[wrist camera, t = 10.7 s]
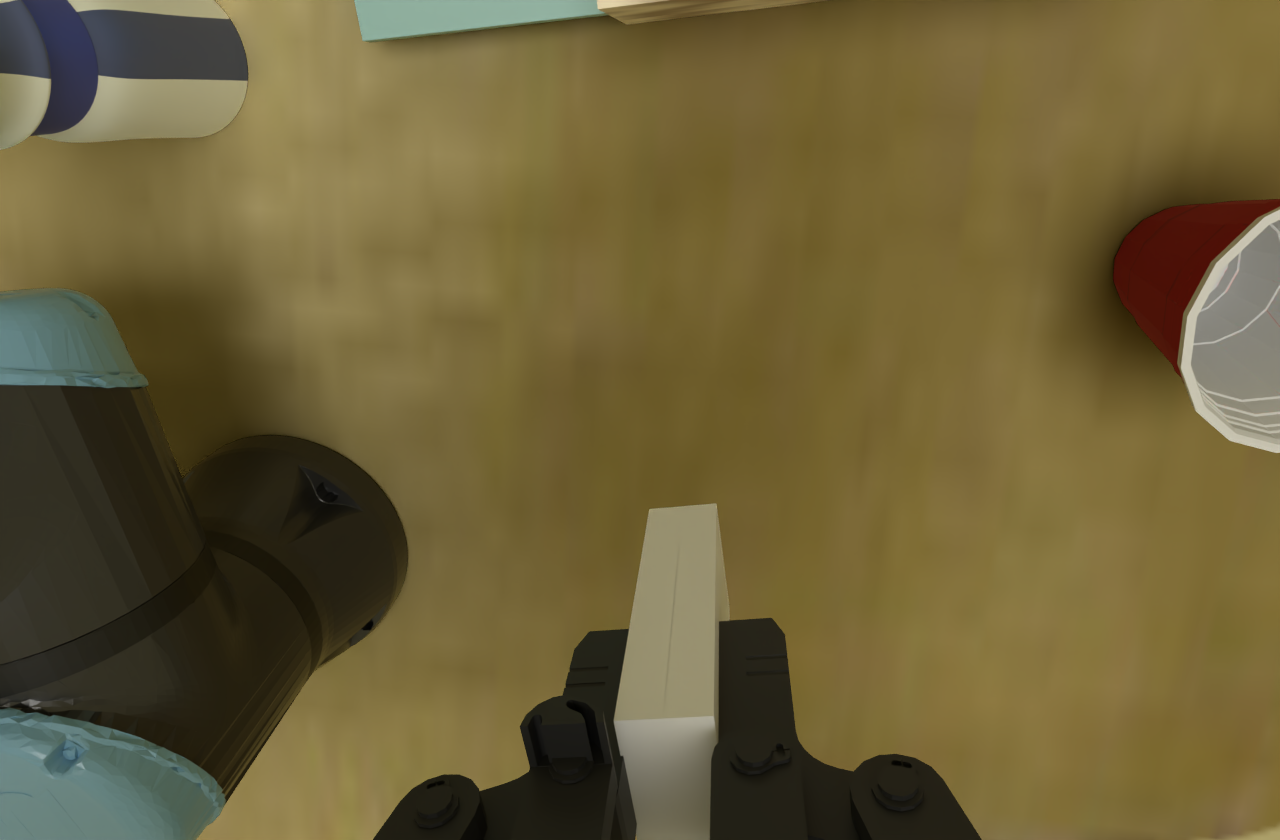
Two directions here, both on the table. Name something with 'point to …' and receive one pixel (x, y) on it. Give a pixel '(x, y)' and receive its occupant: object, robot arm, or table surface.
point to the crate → (682, 8)
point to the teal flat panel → (460, 15)
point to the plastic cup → (1213, 308)
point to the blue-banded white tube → (117, 70)
